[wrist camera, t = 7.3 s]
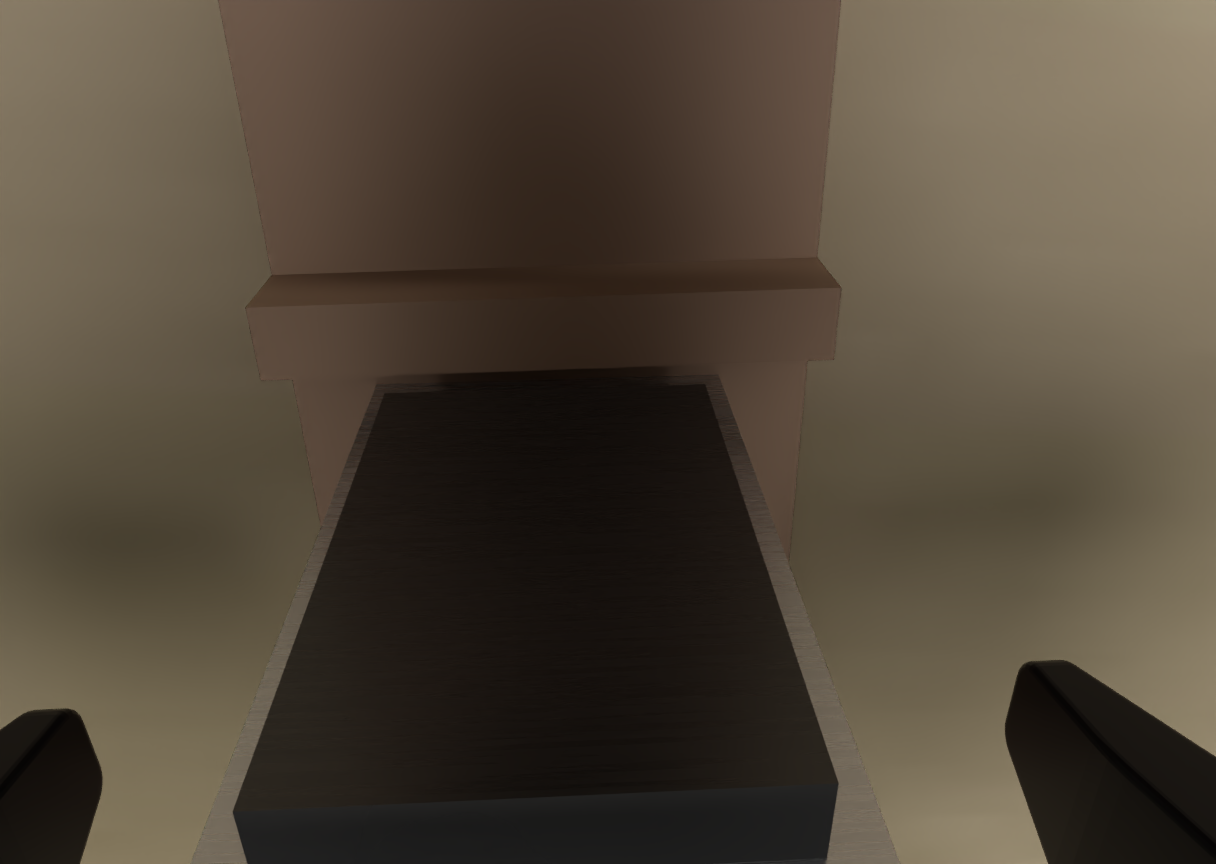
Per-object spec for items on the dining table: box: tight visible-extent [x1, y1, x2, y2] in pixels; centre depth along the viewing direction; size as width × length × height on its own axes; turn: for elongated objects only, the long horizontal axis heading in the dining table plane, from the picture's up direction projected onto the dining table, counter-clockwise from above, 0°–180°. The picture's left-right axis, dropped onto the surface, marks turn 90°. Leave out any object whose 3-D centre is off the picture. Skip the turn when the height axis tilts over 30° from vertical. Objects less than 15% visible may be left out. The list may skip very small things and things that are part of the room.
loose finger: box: [190, 375, 900, 864], centre depth 9 cm, size 5×4×7 cm
